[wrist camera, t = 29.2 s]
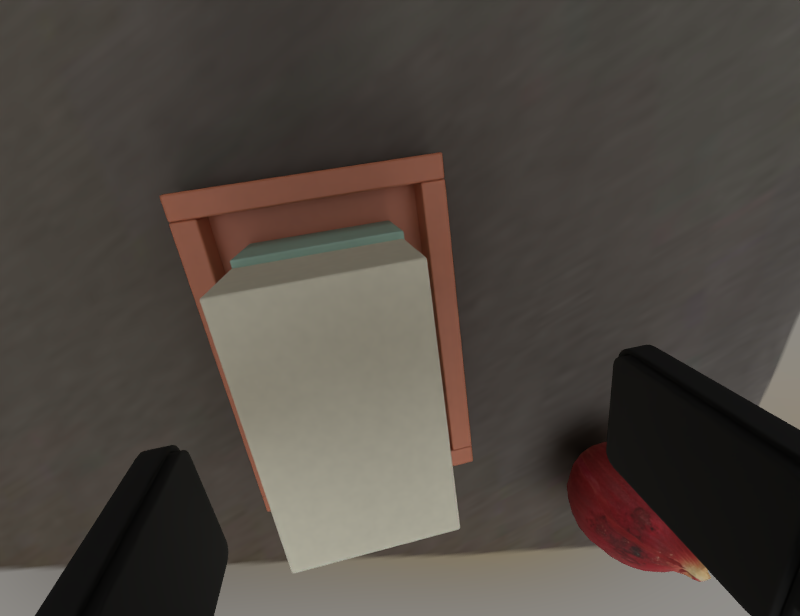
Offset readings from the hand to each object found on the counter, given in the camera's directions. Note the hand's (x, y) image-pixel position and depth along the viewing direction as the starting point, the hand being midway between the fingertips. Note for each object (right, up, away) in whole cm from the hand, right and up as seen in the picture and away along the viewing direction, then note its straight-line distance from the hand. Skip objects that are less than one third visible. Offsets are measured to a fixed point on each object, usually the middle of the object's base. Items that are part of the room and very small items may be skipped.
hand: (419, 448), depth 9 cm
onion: (+11, -6, +16) cm, 20 cm away
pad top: (-3, 0, +7) cm, 7 cm away
